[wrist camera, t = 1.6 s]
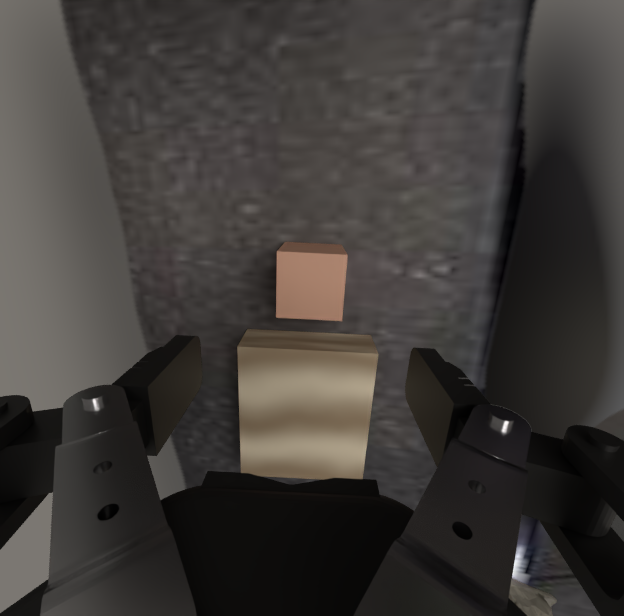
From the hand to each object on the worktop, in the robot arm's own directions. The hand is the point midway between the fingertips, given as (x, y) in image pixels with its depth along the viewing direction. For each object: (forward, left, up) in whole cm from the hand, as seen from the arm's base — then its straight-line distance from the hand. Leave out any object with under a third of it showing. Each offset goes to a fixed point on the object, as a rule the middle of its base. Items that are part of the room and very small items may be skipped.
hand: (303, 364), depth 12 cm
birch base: (+13, 0, -18) cm, 22 cm away
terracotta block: (0, 0, -18) cm, 18 cm away
